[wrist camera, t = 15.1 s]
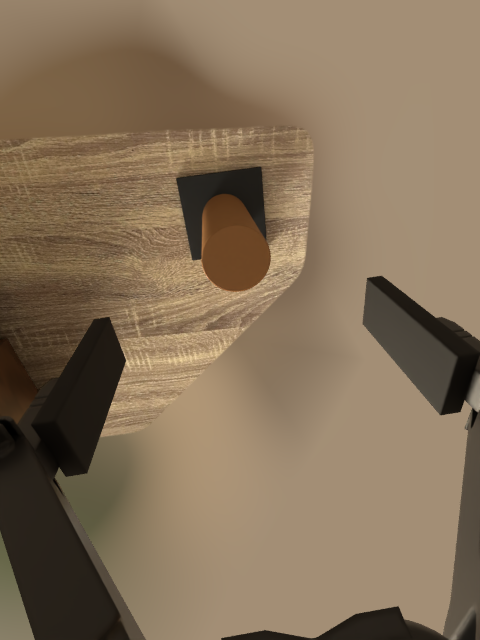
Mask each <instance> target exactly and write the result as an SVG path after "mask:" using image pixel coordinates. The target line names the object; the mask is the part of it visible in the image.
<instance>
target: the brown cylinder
mask: <svg viewBox="0 0 480 640" xmlns="http://www.w3.org/2000/svg"><path fill="white" fill-rule="evenodd" d="M270 260H271V255H270V249H269V246H268V244H267V242H266V240H265V238H264V237H263V235H262V233H261V232H260V230H259V229H258V227H257V225H256V224H255V222H254V220H253V219H252V217H251V216H250V214H249V212H248V211H247V209H246V207H245V206H244V204H243V203H242V202H241V200H239V199H238V198H237V197H235V196H233V195H230V194H220V195H217V196H214V197H213V198H211V199H210V200H209V201H208V202H207V204H206V205H205V207H204V210H203V214H202V260H201V261H202V267H203V270H204V273H205V275H206V276H207V278H208V279H209V280H210V281H211V282H212V283H213V284H214V285H215V286H217V287H219V288H221V289H223V290H226V291H232V292H238V291H244V290H247V289H250V288H252V287H254V286H255V285H257V284H258V283H259V282H260V281H261V280H262V279H263V278H264V276H265V275H266V273H267V271H268V269H269V266H270Z"/></svg>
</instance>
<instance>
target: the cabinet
mask: <svg viewBox="0 0 480 640" xmlns="http://www.w3.org/2000/svg"><path fill="white" fill-rule="evenodd" d="M37 393H38V390H37V388H36V387H35V385H34V383H33V381H32V380H31V378H30V376H29V375H28V373H27V371H26V370H25V368H24V366H23V364H22V363H21V361H20V359H19V358H18V356H17V354H16V353H15V351H14V349H13V348H12V346H11V344H10V342H9V341H8V339H7V338H6V339H0V416H10V417H11V418H13V419H14V421H15V422H16V424H18V422H19V421H20V419H21V418H22V416H23V415H24V413H25V411H26V410H27V408H29V405H30V404H31V402H32V401H33V400H34V399H35V396H36V394H37Z"/></svg>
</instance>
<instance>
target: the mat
mask: <svg viewBox="0 0 480 640" xmlns="http://www.w3.org/2000/svg"><path fill="white" fill-rule="evenodd" d="M176 180H177V185H178V190H179V195H180V200H181V205H182V210H183V215H184V220H185V225H186V230H187V235H188V240H189V245H190V250H191V255H192V260H199V259H202V214H203V210H204V207H205V205H206V204H207V202H208V201H209V200H210V199H211V198H213V197H214V196H217V195H220V194H230V195H233V196H235V197H237V198H238V199H239V200H241V202H242V203H243V204H244V206H245V207H246V209H247V211H248V212H249V214H250V216H251V217H252V219H253V220H254V222H255V224H256V225H257V227H258V229H259V230H260V232H261V233H262V235H263V237H264V238H265V240H266V226H265V212H264V198H263V184H262V169H261V167H255V168H247V169H240V170H232V171H225V172H217V173H210V174H203V175H195V176H188V177H180V178H177V179H176ZM266 242H267V240H266Z"/></svg>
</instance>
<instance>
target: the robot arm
mask: <svg viewBox="0 0 480 640" xmlns="http://www.w3.org/2000/svg"><path fill="white" fill-rule="evenodd" d="M363 325H364V326H365V327H366V328H367V329H368V331H369V332H370V333H371V334H372V335H373V337H374V338H375V339H376V340H377V341H378V343H379V344H380V345H381V346H382V347H383V348H384V350H385V351H386V352H387V353H388V354H389V355H390V356H391V358H392V359H393V360H394V361H395V362H396V364H397V365H398V366H399V367H400V368H401V369H402V371H403V372H404V373H405V374H406V375H407V377H408V378H409V379H410V380H411V381H412V383H413V384H414V385H415V386H416V387H417V388H418V390H420V392H421V393H422V394H423V395H424V397H425V398H426V399H427V400H428V401H429V403H430V404H431V405H432V406H433V407H434V408H435V410H436V411H437V412H438V413H439V414H440V415H445V414H452V413H458V412H461V409H462V406H463V403H464V400H465V401H466V402H467V403H468V404H469V405H470V406H471V407H472V410H471V413H470V415H469V418H468V421H467V424H466V426H465V429H466V430H468V437H467V447H466V457H465V467H464V475H463V485H462V496H461V505H460V515H459V524H458V534H457V543H456V554H455V563H454V573H453V583H452V592H451V601H450V606H449V610H448V614H447V618H446V621H445V626H444V632H443V635H441V634H439V633H438V632H436V631H434V630H432V629H430V628H428V627H425V626H423V625H421V624H418V623H415V622H412V621H409V620H404V619H403V616H402V614H401V611H400V609H399V607H392V608H387V609H381V610H375V611H370V612H364V613H359V614H355V615H353V616H352V617H350V618H349V619H347V620H345V621H343V622H342V623H340V624H338V625H337V626H335V627H334V628H332V629H330V630H329V631H327V632H325V633H324V634H322V635H320V636H319V637H317V638H305V637H300V636H294V635H289V634H283V633H277V632H272V631H266V630H264V631H259V632H253V633H247V634H242V635H236V636H231V637H225V638H221V640H480V341H479V340H478V339H476V338H475V337H472V335H471V334H470V333H468V332H467V331H464V329H463V328H462V327H460V326H458V325H457V324H456V323H455V322H452V321H450V320H447V319H445V318H443V317H440V318H435V317H434V316H433V315H431V314H430V313H429V312H428V311H426V310H425V309H424V308H422V307H421V306H420V305H418V304H417V303H416V302H415V301H413V300H412V299H411V298H409V297H408V296H407V295H406V294H405V293H403V292H402V291H401V290H399V289H398V288H397V287H396V286H394V285H393V284H392V283H390V282H389V281H388V280H387V279H385V278H384V277H382V276H377V277H370V278H367V285H366V295H365V306H364V316H363ZM125 362H126V359H125V356H124V354H123V351H122V349H121V346H120V343H119V341H118V338H117V336H116V333H115V330H114V328H113V325H112V323H111V320H110V318H109V317H106V318H100V319H94V320H93V322H92V323H91V325H90V327H89V328H88V330H87V332H86V333H85V335H84V337H83V338H82V340H81V342H80V343H79V345H78V347H77V348H76V350H75V352H74V353H73V355H72V357H71V358H70V360H69V362H68V363H67V365H66V367H65V368H64V370H63V372H62V373H61V375H60V377H59V378H53V379H50V380H49V381H48V382H47V383H46V384H45V385H44V386H42V387H41V388H40V390H39V391H38V393H37V394H36V396H35V399H34V400H33V401H32V402H31V404H30V405H29V408H27V410H26V411H25V413H24V415H23V416H22V418H21V419H20V421H19V422H18V424H16V422H15V421H14V419H13V418H11V417H10V416H0V531H1V534H2V538H3V541H4V544H5V547H6V550H7V553H8V556H9V559H10V563H11V566H12V569H13V572H14V575H15V578H16V581H17V584H18V588H19V591H20V594H21V597H22V601H23V603H24V607H25V610H26V613H27V616H28V619H29V623H30V626H31V628H32V632H33V635H34V638H35V640H146V639H145V637H144V636H143V634H142V632H141V630H140V628H139V627H138V625H137V623H136V621H135V620H134V618H133V616H132V614H131V612H130V610H129V609H128V607H127V605H126V603H125V602H124V600H123V598H122V597H121V595H120V593H119V591H118V589H117V587H116V585H115V584H114V582H113V580H112V578H111V576H110V575H109V573H108V571H107V569H106V568H105V566H104V564H103V562H102V560H101V559H100V557H99V555H98V553H97V551H96V550H95V548H94V546H93V544H92V542H91V541H90V539H89V537H88V535H87V534H86V532H85V530H84V528H83V526H82V525H81V523H80V521H79V519H78V518H77V516H76V514H75V512H74V510H73V509H72V507H71V505H70V503H69V502H68V499H67V498H66V496H65V494H64V492H63V491H62V489H61V487H60V485H59V483H58V482H57V480H56V479H55V478H54V477H55V475H56V473H57V471H58V468H59V467H60V469H61V470H62V472H63V473H64V475H65V476H66V477H67V476H73V475H80V474H85V473H87V472H88V469H89V466H90V463H91V460H92V458H93V455H94V452H95V449H96V446H97V443H98V440H99V437H100V434H101V432H102V429H103V426H104V423H105V420H106V417H107V414H108V411H109V408H110V406H111V403H112V400H113V397H114V394H115V391H116V388H117V385H118V382H119V380H120V377H121V374H122V371H123V368H124V365H125Z"/></svg>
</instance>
